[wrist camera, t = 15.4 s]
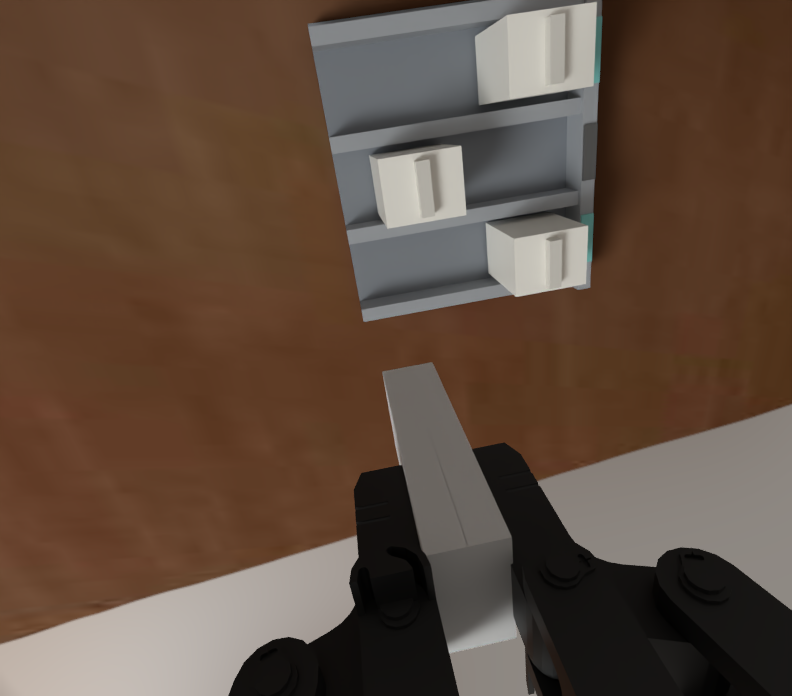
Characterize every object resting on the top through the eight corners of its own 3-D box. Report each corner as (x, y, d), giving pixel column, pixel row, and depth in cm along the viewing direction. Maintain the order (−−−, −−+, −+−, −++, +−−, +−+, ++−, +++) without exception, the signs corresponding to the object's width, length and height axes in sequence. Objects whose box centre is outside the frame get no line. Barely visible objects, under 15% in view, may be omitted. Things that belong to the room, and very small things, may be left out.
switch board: (308, 28, 30) (305, 14, 26) (575, -11, 31) (605, -29, 28) (362, 313, 38) (365, 330, 35) (569, 275, 40) (591, 288, 36)
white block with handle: (485, 222, 35) (518, 241, 29) (548, 211, 35) (593, 227, 29) (488, 273, 37) (519, 300, 31) (548, 262, 37) (591, 287, 31)
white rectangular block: (474, 36, 30) (511, 11, 24) (548, 25, 30) (603, -2, 24) (478, 105, 32) (514, 98, 26) (548, 94, 32) (600, 84, 26)
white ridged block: (369, 155, 32) (378, 160, 26) (439, 143, 32) (464, 145, 26) (378, 213, 34) (389, 230, 28) (444, 202, 34) (469, 216, 28)
